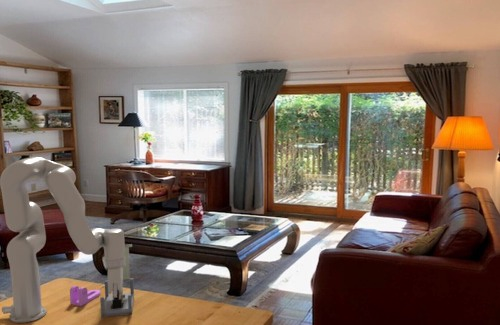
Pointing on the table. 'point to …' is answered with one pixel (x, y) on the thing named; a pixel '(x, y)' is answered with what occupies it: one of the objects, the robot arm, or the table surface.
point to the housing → (108, 303)
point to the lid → (126, 268)
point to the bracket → (82, 295)
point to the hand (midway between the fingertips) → (117, 307)
